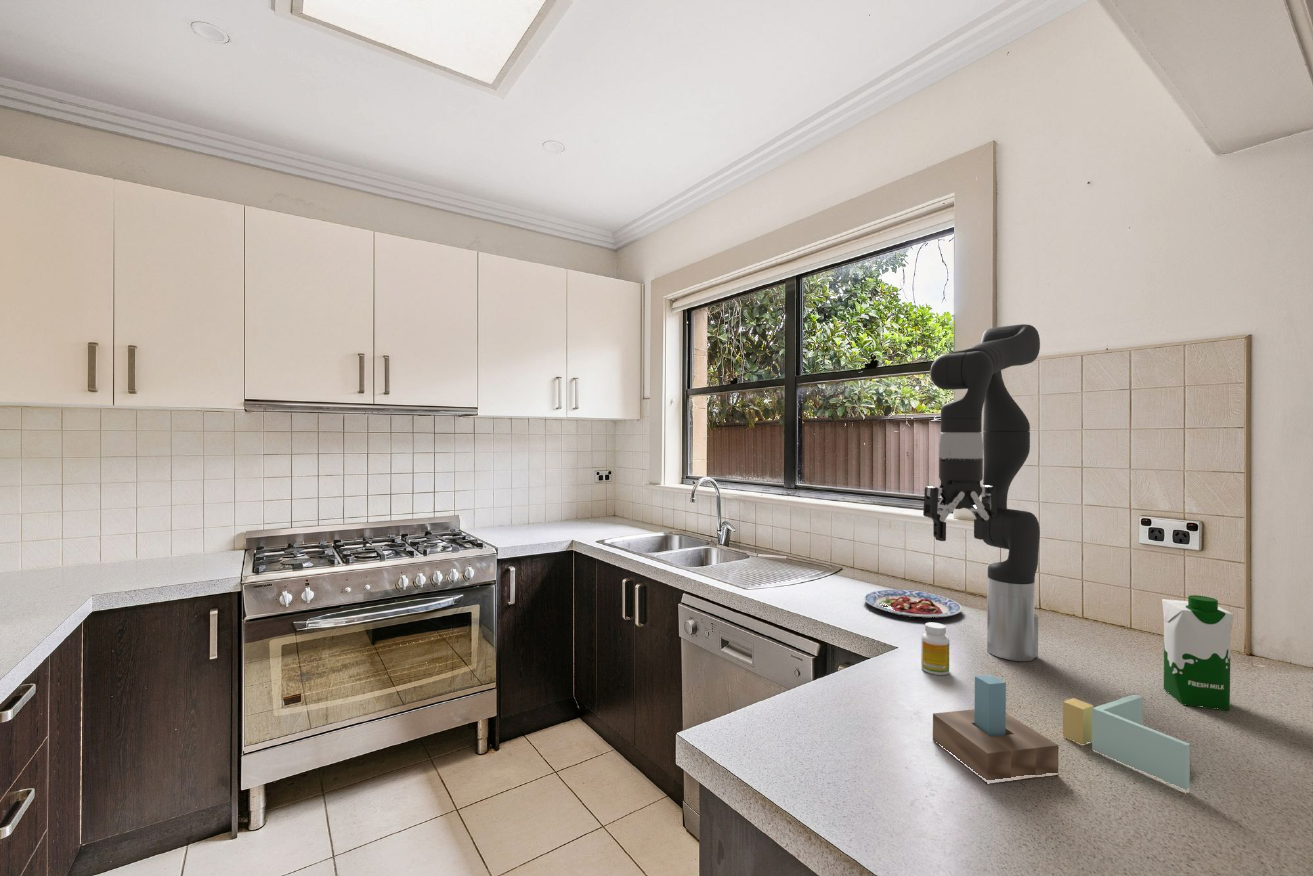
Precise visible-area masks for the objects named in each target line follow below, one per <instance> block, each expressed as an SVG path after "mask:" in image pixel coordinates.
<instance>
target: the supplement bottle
mask: <svg viewBox="0 0 1313 876" xmlns="http://www.w3.org/2000/svg"><path fill="white" fill-rule="evenodd" d="M946 628H947V626H946V625H944V624H943V623H939V622H931V621H928V622H926V623H925V624H924V630H925V632H923V633H922V635H921V647H920V648H921V649H920V650H921V653H920V655H921V659H920V660H921V666H920V667H921V669H922V670H923V671H924V672H926V673H929V674H931V675H935V676H945V675H948V674H949V673H950V639H949V637H948V636H947V635H946V633H947V629H946Z"/></svg>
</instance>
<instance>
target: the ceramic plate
mask: <svg viewBox="0 0 1313 876" xmlns="http://www.w3.org/2000/svg"><path fill="white" fill-rule="evenodd" d="M863 600H864V601H865V602H866V603H867V604H868V605H870V606H872V607H874V608H875V609H879V610H881V611H885V612H887V611H888V613H890V612H891V614H893V613H895V614H894V615H897V614H900V615H899V616H901V615H903V616H902V617H906V616H911V617H910V618H914V617H922V618H921V619H934V617H935V618H944V617H951V616H955V615H957V614H959V613H961V612H962V609H963V608H962V605H961V604H960V603H958V602H957V601H955V600H953V599H951V598H948V597H946V596H942V595H939V594H934V593H929V592H925V591H918V590H907V589H881V590H874V591H871V592H868V593H866V594H865V595H864V599H863ZM917 601H918V602H917ZM882 603H883V604H884V603H885V604H887V605H888V606H891V607H892V609H893V610H891V609H887V608H884V607H888V606H887V605H886V606H885V604H884V605H883V604H882ZM880 604H882V605H880ZM882 606H883V607H882ZM938 606H939V607H938ZM940 608H941V609H940ZM894 610H895V611H894ZM932 617H933V618H932Z"/></svg>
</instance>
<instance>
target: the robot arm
mask: <svg viewBox="0 0 1313 876" xmlns="http://www.w3.org/2000/svg"><path fill="white" fill-rule="evenodd" d="M982 333H983V334H982V336H981V338H980V339H981V340H980V343H977V344H975V345H973V346H970V347H968V348H966V349H963V350H962V349H961V350H956V351H951V352H945V353H943V354H941V355H939V356H937V357H936V358H935V359H934V361H933V362H932V363H931V367H930V370H929V373H930V376H929V377H930V380H931V382H932V383H933V384H934V386H936V387H937V388H938V389H941V390H944V391H945V390H947V391H951V390H952V391H953V390H967V391H966V392H965V395H964V396H963V397H961V399H957V400H954V401H949V402H946V403H944V404H943V405H942V406H941V409H940V436H939V443H938V478H939V481H940V484H939V487H937V486H930V485H929V486H928V485H927V486H925V487H924V493H923V494H924V495H923V496H924V498H923V513H922V514H923V516H924V517H925V518H928V519H931V520H932V521H933V522H932V523H933V524H932V525H933V534H932V535H933V537H934V538H935V540H936V541H940V542H946V541H947V522H946V519H947V518H948V517H949V515H950V514H952V513H953V512H954V511H955V510H961V509H965V510H966V509H967V510H969V511H970V512H971V514H972V515H973V517H974V519H973V537H974V539H977V540H979V541H980V540H982V542H984V543H985V544H986V545H988V546H990V547H994V548H997V549H998V548H999V549H1005V550H1008V554H1007V555H1008V556H1007V559H1006V560H1003V561H999V562H992V563H990V564H989V565H988V566H987V594H986V595H987V597H986V598H987V604H986V605H987V609H986V610H987V614H986V617H987V618H986V620H987V621H986V622H987V623H986V624H987V625H986V629H987V630H986V631H987V632H986V650H987V653H989V654H991V655H993V656H995V657H997V658H1001V659H1003V660H1009V661H1013V662H1014V661H1015V662H1030V661H1032V660H1034V659H1035V658H1038V657H1039V616H1038V614H1037V613H1035V598H1036V597H1035V596H1036V595H1035V593H1036V592H1035V591H1036V589H1035V588H1036V586H1035V582H1036V573H1037V572H1038V571H1037V570H1038V566H1039V551H1040V550H1039V549H1040V538H1041V537H1040V536H1041V530H1040V529H1041V528H1040V523H1039V520H1038V518H1037V517H1036V516H1035V515H1036V514H1034V513H1032V512H1030V511H1025V510H1019V509H1012V508H1011V509H1010V508H1008V494H1009V489H1010V486H1011V484H1012V482H1013V480H1014V478H1015V477H1016V476H1017V474H1018V473H1019V471H1020V470H1021V469H1022V467H1023V466H1024V464H1025V462H1026V461H1027V459H1028V457H1029V455H1030V449H1031V426H1030V422H1029V419H1028V418H1027V416H1026V414H1025V413H1024V411H1023V410H1022V408H1021V407H1020V406H1019V405H1018V403H1017V402H1016V401H1015V400H1014V398H1013V397H1012V395H1011V394H1010V392H1009V391H1008V389H1007V387H1006V385H1005V382H1004V379H1003V376H1002V371H1003V370H1005V369H1007V368H1010V367H1015V366H1017V367H1018V366H1024V365H1025V366H1026V365H1028V364H1031V363H1033V362H1035V361H1036V359H1037V358H1038V356H1039V353H1040V350H1041V339H1040V335H1039V332H1038V330H1037V328H1036V327H1034V326H1033V325H1031V324H1013V325H1006V326H997V327H990V328H986V330H984V332H982ZM982 414H983V416H982ZM982 417H983V419H982ZM982 420H983V421H982ZM982 422H983V423H982ZM982 426H983V428H982ZM982 434H983V436H982ZM981 481H982V485H981ZM980 496H981V500H980ZM940 497H941V498H940ZM939 498H940V500H939Z"/></svg>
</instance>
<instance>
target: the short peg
mask: <svg viewBox="0 0 1313 876" xmlns="http://www.w3.org/2000/svg"><path fill="white" fill-rule="evenodd" d="M1092 708H1094V705H1093V704H1091V703H1088V702H1086V701H1082V700H1079V699H1077V698H1075V697H1072V698H1070V699H1067V700H1064V701H1062V737H1063V736H1064V737H1066V738H1069V739H1071V740H1074V741H1075V742H1078V743H1080V744H1086V743H1087V742H1091V741H1092Z"/></svg>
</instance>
